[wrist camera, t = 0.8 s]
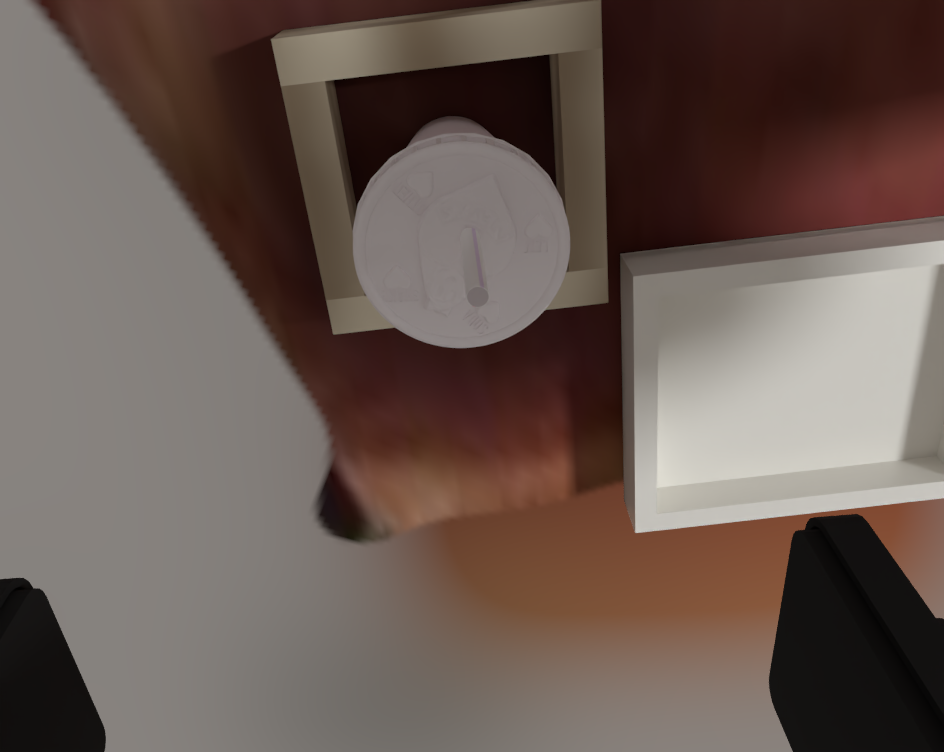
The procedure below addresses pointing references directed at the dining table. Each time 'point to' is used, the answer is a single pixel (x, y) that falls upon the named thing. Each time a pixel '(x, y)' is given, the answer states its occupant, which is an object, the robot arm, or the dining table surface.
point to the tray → (783, 374)
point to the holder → (432, 46)
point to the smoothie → (460, 237)
